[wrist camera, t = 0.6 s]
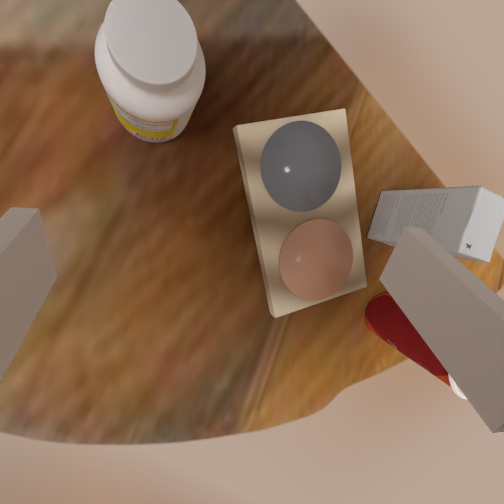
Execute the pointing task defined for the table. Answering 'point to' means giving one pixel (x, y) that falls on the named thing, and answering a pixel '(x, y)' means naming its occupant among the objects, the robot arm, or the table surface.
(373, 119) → the table surface
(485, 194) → the skincare box
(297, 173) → the slate pad
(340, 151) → the birch board
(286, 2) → the table surface
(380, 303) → the paper cup
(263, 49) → the table surface
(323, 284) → the terracotta pad
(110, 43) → the supplement bottle
